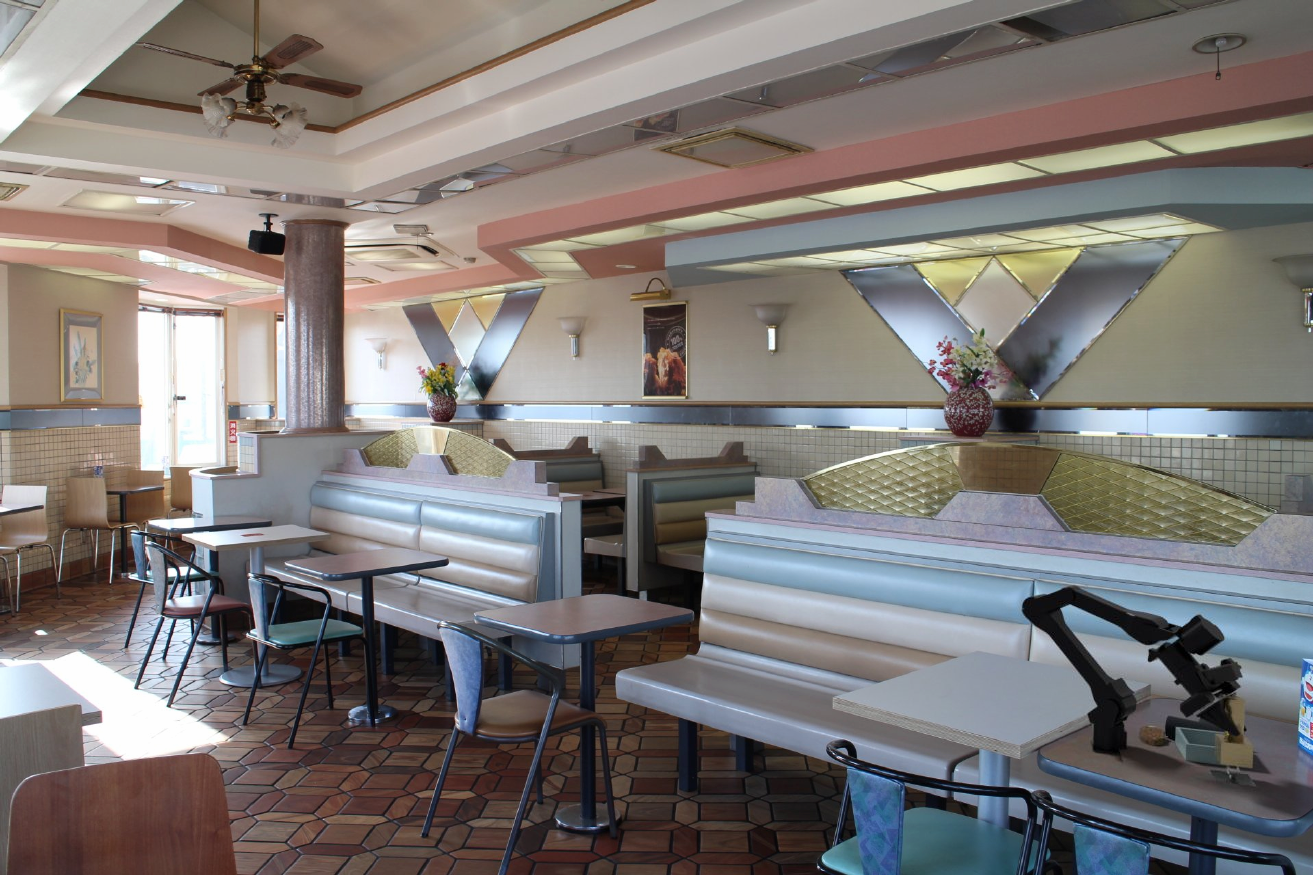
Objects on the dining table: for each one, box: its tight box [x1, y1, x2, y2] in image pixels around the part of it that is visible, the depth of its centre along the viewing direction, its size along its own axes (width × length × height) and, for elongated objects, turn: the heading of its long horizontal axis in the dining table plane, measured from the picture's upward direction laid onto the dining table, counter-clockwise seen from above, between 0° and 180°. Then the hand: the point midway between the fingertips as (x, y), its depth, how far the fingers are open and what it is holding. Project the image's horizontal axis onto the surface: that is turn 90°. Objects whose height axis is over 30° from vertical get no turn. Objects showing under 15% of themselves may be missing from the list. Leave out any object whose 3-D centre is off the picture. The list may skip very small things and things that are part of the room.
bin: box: [1174, 727, 1253, 770], centre depth 207 cm, size 12×12×4 cm
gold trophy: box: [1215, 695, 1254, 769], centre depth 193 cm, size 6×6×13 cm
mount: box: [1209, 765, 1257, 787], centre depth 194 cm, size 7×7×4 cm
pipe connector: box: [1164, 715, 1224, 739], centre depth 220 cm, size 12×5×15 cm
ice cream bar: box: [1138, 725, 1166, 747], centre depth 219 cm, size 5×4×15 cm
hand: (1241, 733), depth 192 cm, fingers closed on gold trophy, 3 cm apart
